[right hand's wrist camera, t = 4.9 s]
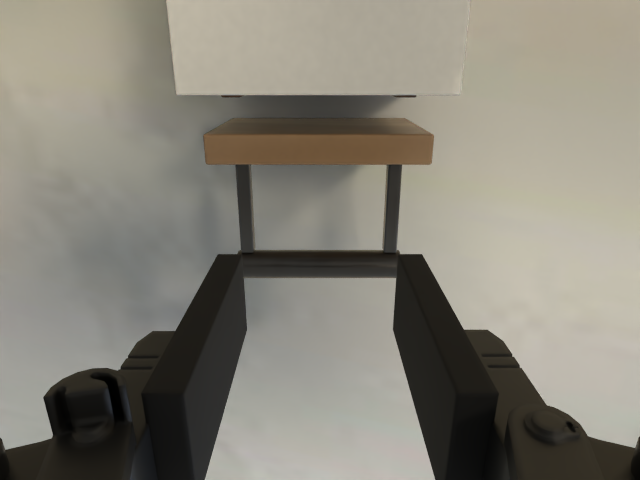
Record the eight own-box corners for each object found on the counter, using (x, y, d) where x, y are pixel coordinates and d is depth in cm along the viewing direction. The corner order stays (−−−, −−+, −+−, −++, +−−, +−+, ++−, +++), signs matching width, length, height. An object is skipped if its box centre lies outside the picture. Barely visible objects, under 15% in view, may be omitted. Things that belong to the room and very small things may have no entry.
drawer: (397, 245, 26) (420, 296, 20) (240, 245, 26) (217, 296, 20) (436, -342, 17) (494, -551, 12) (201, -342, 17) (140, -550, 12)
